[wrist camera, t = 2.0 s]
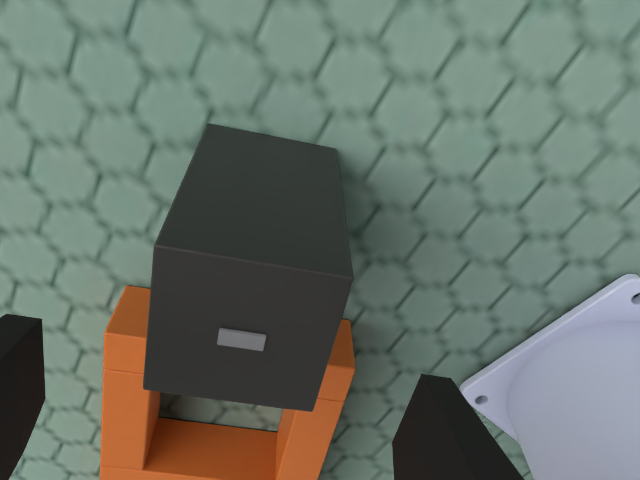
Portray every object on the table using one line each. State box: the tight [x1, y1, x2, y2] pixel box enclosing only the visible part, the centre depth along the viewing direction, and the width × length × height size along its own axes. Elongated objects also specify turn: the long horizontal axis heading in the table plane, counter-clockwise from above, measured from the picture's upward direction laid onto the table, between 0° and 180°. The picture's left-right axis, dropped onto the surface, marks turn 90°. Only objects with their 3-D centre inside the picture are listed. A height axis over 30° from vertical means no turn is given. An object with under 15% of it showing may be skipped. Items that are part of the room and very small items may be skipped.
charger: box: [143, 124, 354, 412], centre depth 15 cm, size 4×4×7 cm
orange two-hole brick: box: [100, 286, 356, 480], centre depth 23 cm, size 15×8×3 cm, turn 167°
